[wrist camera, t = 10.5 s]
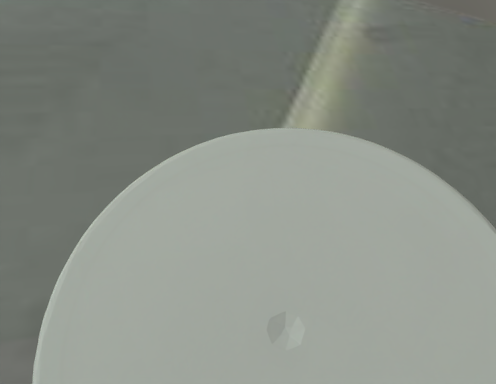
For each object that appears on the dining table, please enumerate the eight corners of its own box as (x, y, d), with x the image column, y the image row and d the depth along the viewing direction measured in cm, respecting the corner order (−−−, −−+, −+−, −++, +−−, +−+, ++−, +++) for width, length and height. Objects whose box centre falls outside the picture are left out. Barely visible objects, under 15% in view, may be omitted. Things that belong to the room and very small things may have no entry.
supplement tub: (418, 502, 18) (748, 673, 5) (193, 544, 18) (-22, 826, 5) (354, 279, 23) (450, 85, 10) (174, 310, 23) (36, 155, 10)
